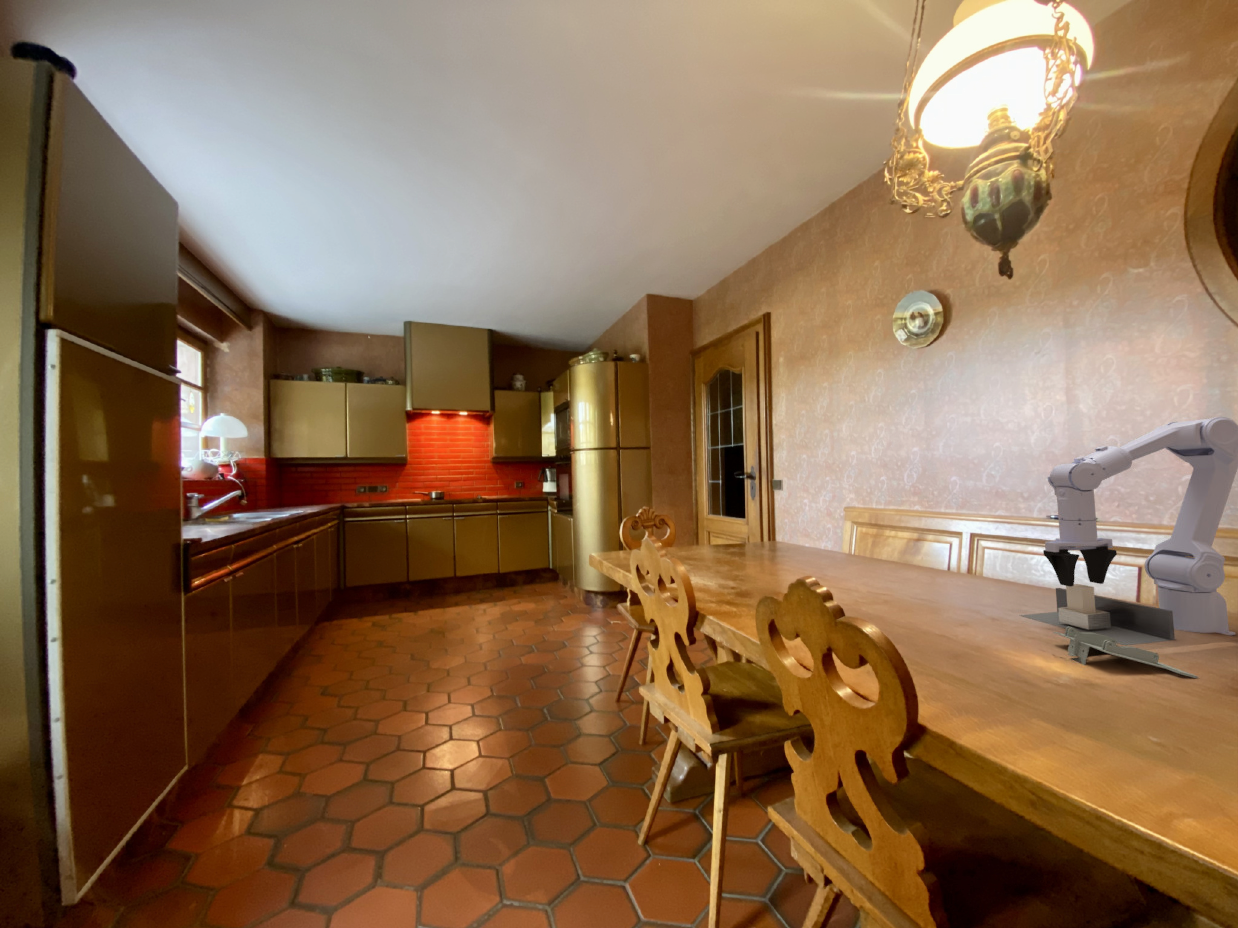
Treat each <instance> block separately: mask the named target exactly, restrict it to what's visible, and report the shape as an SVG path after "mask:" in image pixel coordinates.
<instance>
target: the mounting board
mask: <svg viewBox="0 0 1238 928" xmlns="http://www.w3.org/2000/svg"><path fill="white" fill-rule="evenodd" d="M1019 617H1023V618H1026V619H1030V620H1033V621H1037V622H1041V623H1044V624H1047V625H1052V626H1055V627H1058V628H1062V629H1065V630H1066V628H1067V627H1072V628H1075V629H1076V630H1078V631H1079V632H1092V633H1096V634H1100V635H1103V636H1107V637H1111V638H1114V639H1116V641H1117V643H1116V644H1117V645H1118V644H1119V645H1121V646H1133V645H1142V644H1150V643H1151V644H1154V643H1160V642H1170V641H1172V640H1167V639H1163V638H1159V637H1155V636H1151V635H1147V634H1144V633H1140V632H1136V631H1132V630H1128V629H1124V628H1120V627H1116V626H1112V625H1111V628H1101V629H1091V630H1088V629H1084V628H1080V627H1077V626H1073V625H1069V624H1066V623H1062V622H1059V612H1057V611H1053V612H1043V613H1039V612H1038V613H1030V614H1029V613H1028V614H1019ZM1174 641H1177V638H1175V640H1174Z"/></svg>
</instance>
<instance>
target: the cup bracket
mask: <svg viewBox="0 0 1238 928" xmlns="http://www.w3.org/2000/svg"><path fill="white" fill-rule="evenodd" d="M1055 598H1056V612H1059V622H1062V623H1066V624H1069V625H1073V626H1077V627H1080V628H1084V629H1088V630H1091V629H1101V628H1111V625H1112V626H1116V627H1120V628H1124V629H1128V630H1132V631H1136V632H1140V633H1144V634H1147V635H1151V636H1155V637H1159V638H1163V639H1167V640H1171V641H1176V640H1175V639H1176V638H1175V637H1176V636H1175V629H1174V624H1173V612H1172V611H1170V610H1166V609H1161V608H1159V607H1156V606H1155V607H1154V606H1151V605H1147V604H1146V605H1145V604H1140V603H1135V602H1131V601H1125V600H1120V599H1116V598H1112V597H1111V598H1110V597H1108V596H1107V597H1106V596H1101V595H1095V594H1094V598H1095V611H1096V613H1092V614H1085V613H1081V612H1076V611H1072V610H1068V607H1067V593H1066V588H1062V587H1055Z"/></svg>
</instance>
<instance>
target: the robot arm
mask: <svg viewBox="0 0 1238 928" xmlns="http://www.w3.org/2000/svg"><path fill="white" fill-rule="evenodd" d="M1163 449H1166V450H1167V451H1169V452H1170V453H1171V454H1173V455H1175V456H1176V457H1178V458H1179V460H1180V459H1181V460H1182V461H1183V462H1186V463H1187V464H1189V465H1190V466H1191V467H1192V468H1193V469H1192V472H1191V476H1190V478H1189V482H1188V484H1187V488H1186V491H1185V493H1184V497H1183V501H1182V503H1181V505H1180V509H1179V512H1178V515H1177V518H1176V521H1175V524H1174V526H1173V530H1172V533H1171V535H1170V538H1168V539H1166V540H1164V541H1162V542H1160V543H1158V544H1156V545H1155V547H1154V550H1153V552H1152V553H1151V554H1149V556H1148V557H1147V558H1146V559H1145V562H1144V571H1145V573H1146V574H1147V577H1149V578H1151V579H1152V580H1153V584H1154V585H1157V595H1158V597H1157V598H1158V606H1159V607H1158V608H1161V609H1166V610H1170V611H1172V612H1173V624H1174V630H1177V631H1185V632H1192V633H1202V634H1211V633H1218V634H1222V635H1227V636H1235V635H1236V632H1235V631H1230V630H1229V618H1228V617H1229V616H1228V605H1227V601H1226V599H1225V597H1224V596H1223V595H1222V594H1221V593H1219V592H1218V591H1217V589H1219V588H1221V586H1222V585H1223V583H1224V581H1225V578H1226V577H1225V575H1226V574H1225V570H1224V569H1225V568H1224V565H1225V560H1226V558H1225V557H1224V556H1223V555H1222V554H1221V553H1220V552H1218V550H1216V549H1215V548H1214V547H1213V543H1214V541H1215V538H1216V535H1217V531H1218V529H1219V525H1220V524H1221V523H1220V522H1221V519H1222V517H1223V514H1224V510H1225V508H1226V504H1227V501H1228V499H1229V496H1230V492H1231V489H1232V486H1233V484H1234V481H1235V478H1236V474H1237V472H1238V423H1237V422H1236V421H1235V420H1233V419H1231V418H1229V417H1226V416H1215V417H1211V418H1204V419H1196V420H1186V421H1172V422H1171V421H1170V422H1168V423H1165V424H1164V425H1159V426H1156V427H1155V428H1154V429H1153V430H1152V431H1149V432H1148V433H1145V434H1144V435H1141V436H1140V437H1138V438H1136V439H1133V440H1131V441H1129V442H1127V443H1126V444H1123V445H1122V446H1120V447H1119V446H1113V445H1109V446H1107V445H1102V446H1098V447H1096V448H1094V450H1095V451H1094V452H1092V453H1089V454H1088V455H1085V456H1078V457H1075V458H1074V459H1073V462H1071V463H1061V464H1058V465H1055V467H1054V468H1052V470H1051V472H1050V475H1049V476H1048V477H1046V478H1047V482H1048V484H1049V486H1050V487H1052V489H1053V490H1054V496H1056V501H1057V502H1056V503H1057V504H1056V505H1057V512H1058V513H1057V516H1058V530H1059V537H1058V538H1057V537H1056V538H1055V539H1054V540H1050V541H1044V547H1045V548H1044V549H1043V555H1044V557H1045V558H1046V560H1048V562H1049V564H1050V565H1051V566H1052V568H1053V570H1054V572H1055V575H1056V577H1057V579H1058V582H1059V584H1060V586H1065V587H1066V586H1073V585H1074V584H1075V570H1076V564H1077V562H1078V559H1079V557H1080V554H1075V553H1071V551H1079V552H1080V553H1081V555H1082V557H1083V560H1084V563H1085V566H1086V572H1087V577H1088V581H1089V583H1094V584H1100V585H1103V584H1104V583H1105V579H1106V576H1107V572H1108V570H1109V567H1110V565H1111V563H1112V562H1113V560H1114V559H1115V558H1116V556H1117V554H1118V552H1117V550H1115V549H1113V548H1114V546H1113V539H1112V538H1104V537H1098V528H1097V526H1098V525H1097V516H1096V515H1097V514H1096V501H1095V499H1096V498H1095V490H1096V489H1098V488H1099V487H1100V486H1101V484H1102V481H1104V480H1107V479H1110V478H1111V477H1114V476H1115V475H1118V474H1121V473H1123V472H1124V471H1127V470H1129V469H1130V468H1131V466H1132V464H1133V461H1135V460H1138V459H1140V458H1144V457H1146V456H1148V455H1151V454H1153V453H1156V452H1159V451H1160V450H1163Z"/></svg>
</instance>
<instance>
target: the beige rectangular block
mask: <svg viewBox="0 0 1238 928" xmlns="http://www.w3.org/2000/svg"><path fill="white" fill-rule="evenodd" d="M1065 589H1066V593H1067V607H1068V610H1072V611H1076V612H1081V613H1085V614H1092V613H1096V611H1095V598H1094V595H1095V587H1094V586H1091V585H1085V584H1079V583H1074V585H1073V586H1065Z"/></svg>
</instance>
